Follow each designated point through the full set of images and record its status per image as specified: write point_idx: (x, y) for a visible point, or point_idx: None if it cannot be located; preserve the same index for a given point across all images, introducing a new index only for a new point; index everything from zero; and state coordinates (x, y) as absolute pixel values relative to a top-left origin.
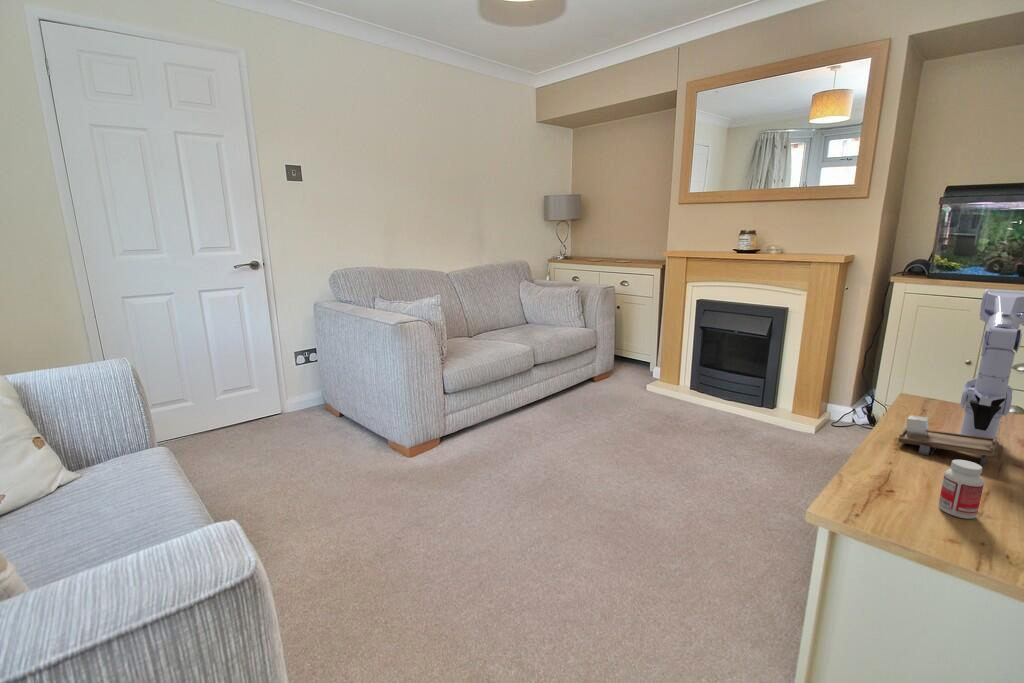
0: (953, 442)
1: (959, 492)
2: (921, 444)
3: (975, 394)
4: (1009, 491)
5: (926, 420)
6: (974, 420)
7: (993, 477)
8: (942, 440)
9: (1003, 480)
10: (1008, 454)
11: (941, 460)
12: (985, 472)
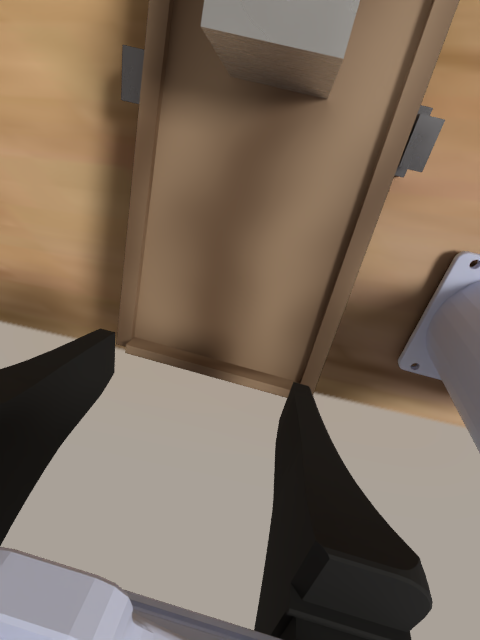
0: (208, 219)
1: None
2: (134, 52)
3: (331, 559)
4: (34, 319)
5: (241, 37)
6: (55, 350)
7: (114, 304)
8: (227, 170)
9: (110, 324)
10: (391, 395)
11: None
12: None
